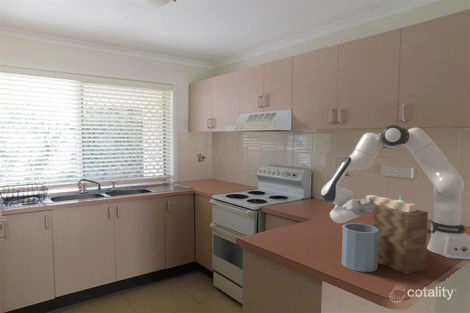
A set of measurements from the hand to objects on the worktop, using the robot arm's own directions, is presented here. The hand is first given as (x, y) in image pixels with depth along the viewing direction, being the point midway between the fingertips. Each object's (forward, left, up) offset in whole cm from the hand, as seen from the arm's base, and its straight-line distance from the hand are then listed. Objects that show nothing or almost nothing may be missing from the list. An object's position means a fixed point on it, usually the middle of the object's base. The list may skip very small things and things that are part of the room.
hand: (375, 198), depth 142 cm
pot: (+7, +16, -26) cm, 31 cm away
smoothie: (-18, -52, -26) cm, 61 cm away
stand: (-9, +9, -26) cm, 29 cm away
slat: (-5, +5, -2) cm, 7 cm away
